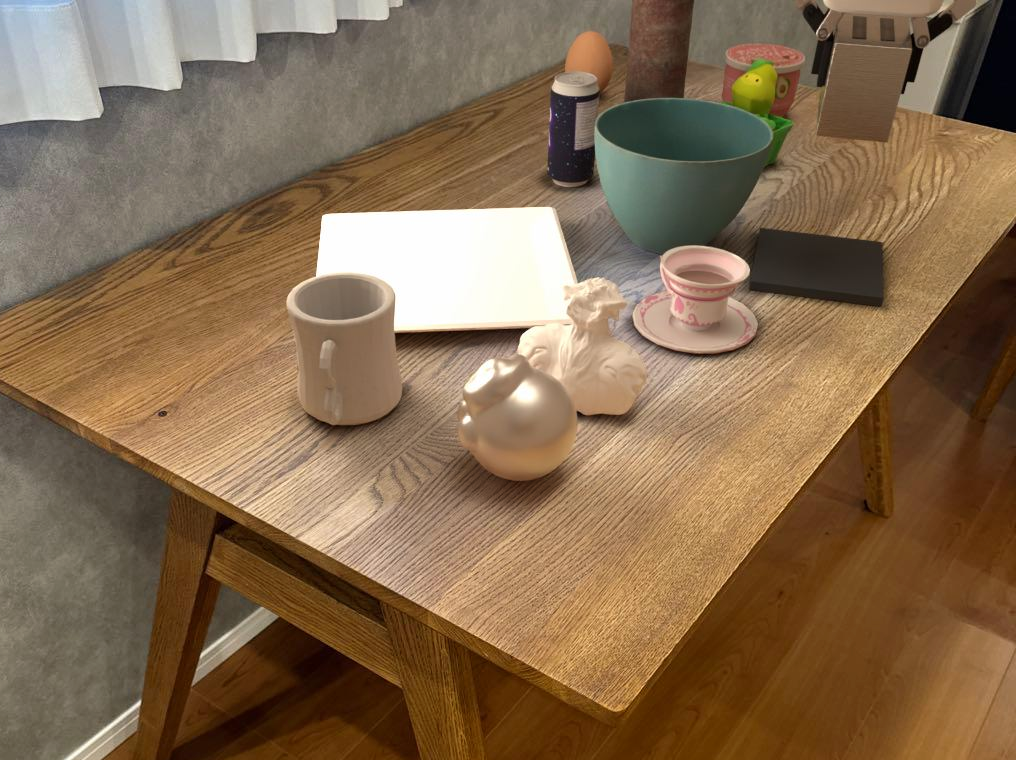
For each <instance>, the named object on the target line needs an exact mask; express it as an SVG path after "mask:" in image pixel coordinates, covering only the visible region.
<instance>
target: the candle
mask: <svg viewBox="0 0 1016 760" xmlns="http://www.w3.org/2000/svg"><path fill="white" fill-rule="evenodd" d="M694 5H695V0H632V1H631V13H630V26H629V36H628V38H629V39H628V42H629V43H628V53H627V61H626V62H627V63H626V73H625V74H626V75H625V77H626V78H625V84H624V85H625V86H624V97H623V98H624V99H623V103H625V102H630V101H635V100H641V99H652V98H685V88H686V77H687V71H688V70H687V69H688V61H689V53H690V41H691V39H690V38H691V32H692V26H693V15H694Z"/></svg>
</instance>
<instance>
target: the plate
mask: <svg viewBox="0 0 1016 760" xmlns="http://www.w3.org/2000/svg"><path fill="white" fill-rule="evenodd" d="M321 217H322V218H321V228H320V236H319V237H320V239H319V245H318V246H319V247H318V257H317V267H316V276H320V275H323V274H329V273H337V272H355V273H364V274H368V275H372V276H375V277H378V278H380V279H382V280H384V281H385V282H387V283H388V284H389V285H390V286H391V287H392V288H393V290H394V292H395V294H396V300H395V317H394V333H395V334H397V333H398V334H399V333H425V332H450V331H451V332H453V331H477V330H478V331H479V330H480V331H481V330H503V329H506V330H507V329H531V328H532V327H535V326H546V325H548V324H552V323H561V324H564V325H565V326H569V325H572V319H571V318H569V316H568V315H567V314H566V309H567V305H568V304H569V302H570V300H571V299H569V300H567V301H565V300H563V297H564V294H565V293H564V291H563V289H562V286H563V285H567V286H571V285H573V284H575V283H579V282H578V279H577V275H576V271H575V269H574V266H573V262H572V258H571V256H570V252H569V249H568V247H567V243H566V239H565V236H564V233H563V230H562V229H563V228H562V227H561V223H560V220H559V219H560V218H559V217H558V212H557V209H556V208H555V207H552V206H533V207H532V206H530V207H502V208H498V207H497V208H469V209H468V208H467V209H439V210H437V209H435V210H410V211H409V210H407V211H406V210H405V211H375V212H373V211H372V212H344V213H327V214H324V215H322V216H321ZM316 276H315V277H316Z"/></svg>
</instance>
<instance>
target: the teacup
mask: <svg viewBox="0 0 1016 760" xmlns="http://www.w3.org/2000/svg"><path fill="white" fill-rule="evenodd" d="M659 259H660V263H659V272H660V277H661V280H662V282H663V284H664V287H665V289H666V290H664V291H658V292H657V293H654V294H651V295H649V296H646V297H644V298H643V299H642V300H641V301H639V302H638V303H637V304H636V305H635V307H634V310H633V312H632V316H631V318H632V322H633V325H634V328H635V329H636V330H637V331H638V332H639V334H641V336H642V337H644V338H646V339H647V340H649V341H650V342H652V343H654V344H656V345H658V346H661V347H664V348H667V349H670V350H673V351H677V352H683V353H689V354H719V353H723V352H724V353H725V352H730V351H734V350H737V349H738V348H741V347H743V346H745V345H748V344H749V342H751V341H752V340H753V338H755V337H756V334H757V330H758V326H759V322H758V320H757V317H756V315H755V313H754V312H753V311H752V310H751V309H750V308H749V307H747V306H746V305H745V304H744V303H742V302H741V301H738V300H736V299H735V298H733V297H731V296H732V294H733V293H734V292H735V291H736V289H737V287H739V286H740V285H741V284H742V283H743V282H744V281H745V280H746V279H747V278H748V277H749V276H750V275H751V269H750V268H751V267H750V266H749V264H748V263H747V262H746V261H745V260H744V259H743V258H742V257H740V256H738V255H737V254H735V253H733V252H730V251H727V250H725V249H722V248H717V247H713V246H708V245H706V246H681V247H676V248H673V249H670V250H668V251H667V252H665V253H664V254H662V255H659Z"/></svg>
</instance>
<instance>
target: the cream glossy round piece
mask: <svg viewBox="0 0 1016 760" xmlns="http://www.w3.org/2000/svg"><path fill="white" fill-rule="evenodd" d="M462 398H463V399H462V400H461V401H460V403H459V405H458V407H457V419H458V425H457V426H458V427H457V436H458V440H459V443H460V444H461V446H462V447H463V448H464V449H466V450H467V451H469V452H470V453H471V454H472V456H473V457H474V458H475V459H476V461H477V462H478V463H479V464H480V465H481V466H482V468H484V469H485V470H486V471H487V472H489V473H490V474H492V475H495V476H497V477H499V478H501V479H505V480H509V481H516V482H525V481H531V480H536V479H539V478H542V477H545V476H546V475H548V474H550V473H551V472H553V471H554V470H556V469H557V468H558V467H559V466H560V465H562V464H563V462H565V460H566V459H567V457H568V456H569V454H570V452H571V451H572V449H573V447H574V445H575V442H576V438H577V433H578V422H579V421H578V412H577V411H576V408H575V405H574V402H573V400H572V398H571V396H570V394H569V392H568V391H567V390H566V388H565V387H564V386H563V385H562V384H561V383H560V382H559V381H558V380H557V379H556V378H554V377H553V376H552V375H550V374H548V373H546V372H544V371H542V370H539V369H536V368H534V367H533V366H531V365H530V363H529V361H528V359H527V358H526V357H525V356H523V355H521V354H518V353H516V354H512V355H506V356H497V357H493V358H490V359H488V360H486V361H485V362H484V363H483V364H482V365H480V367H479V368H478V369H477V370H476V371H475V373H473V374H472V375H471V377H470V378H469V379H468V381H466V383H465V385H464V386H463V388H462Z"/></svg>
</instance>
